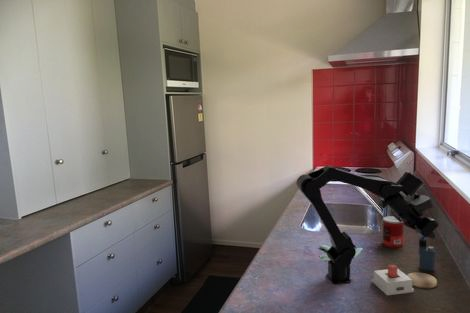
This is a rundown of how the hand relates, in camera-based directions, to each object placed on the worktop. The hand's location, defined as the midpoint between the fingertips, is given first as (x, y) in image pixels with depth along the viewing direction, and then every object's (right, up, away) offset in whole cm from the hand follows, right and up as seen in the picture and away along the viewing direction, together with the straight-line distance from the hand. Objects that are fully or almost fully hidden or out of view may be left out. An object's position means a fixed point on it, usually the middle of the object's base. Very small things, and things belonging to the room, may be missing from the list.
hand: (430, 235), depth 127 cm
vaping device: (+1, -13, +5) cm, 14 cm away
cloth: (-25, -12, +23) cm, 36 cm away
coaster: (-5, -14, -4) cm, 16 cm away
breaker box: (-16, -15, -7) cm, 23 cm away
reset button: (-16, -13, -7) cm, 22 cm away
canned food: (-1, -10, +27) cm, 29 cm away
